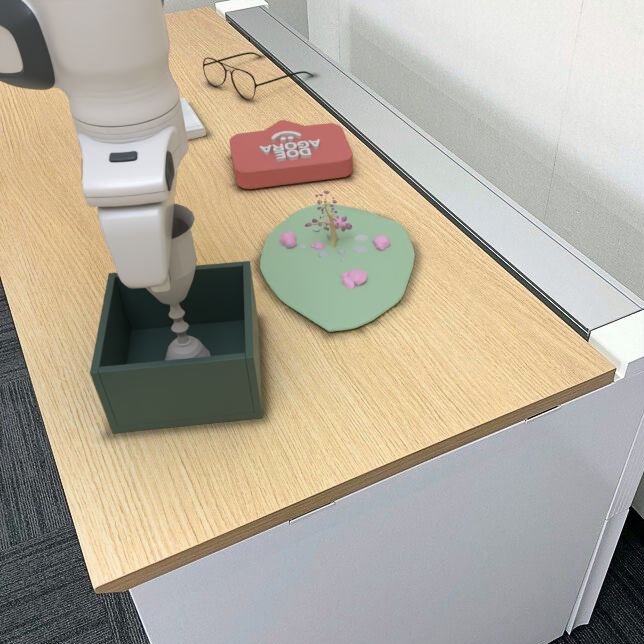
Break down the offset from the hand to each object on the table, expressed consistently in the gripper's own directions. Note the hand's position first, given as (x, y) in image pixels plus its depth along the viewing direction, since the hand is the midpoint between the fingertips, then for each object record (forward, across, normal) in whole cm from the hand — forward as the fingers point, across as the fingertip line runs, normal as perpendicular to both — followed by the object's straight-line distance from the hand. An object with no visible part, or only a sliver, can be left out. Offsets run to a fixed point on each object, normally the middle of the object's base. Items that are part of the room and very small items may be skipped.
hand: (164, 264), depth 72 cm
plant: (+15, -17, +19) cm, 30 cm away
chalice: (+13, 0, 0) cm, 13 cm away
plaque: (+15, -45, +14) cm, 49 cm away
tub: (+15, 0, 0) cm, 15 cm away
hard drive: (+15, -60, -5) cm, 62 cm away
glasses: (+15, -76, +10) cm, 78 cm away
